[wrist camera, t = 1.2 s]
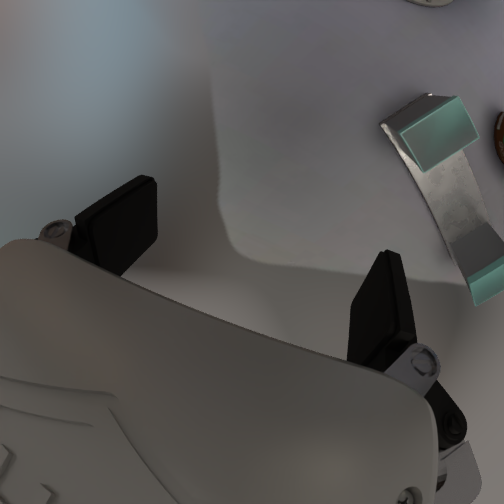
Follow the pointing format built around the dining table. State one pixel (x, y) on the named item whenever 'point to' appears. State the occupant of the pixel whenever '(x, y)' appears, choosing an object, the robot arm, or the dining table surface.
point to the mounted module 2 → (481, 262)
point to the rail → (447, 191)
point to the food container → (499, 136)
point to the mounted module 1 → (433, 130)
